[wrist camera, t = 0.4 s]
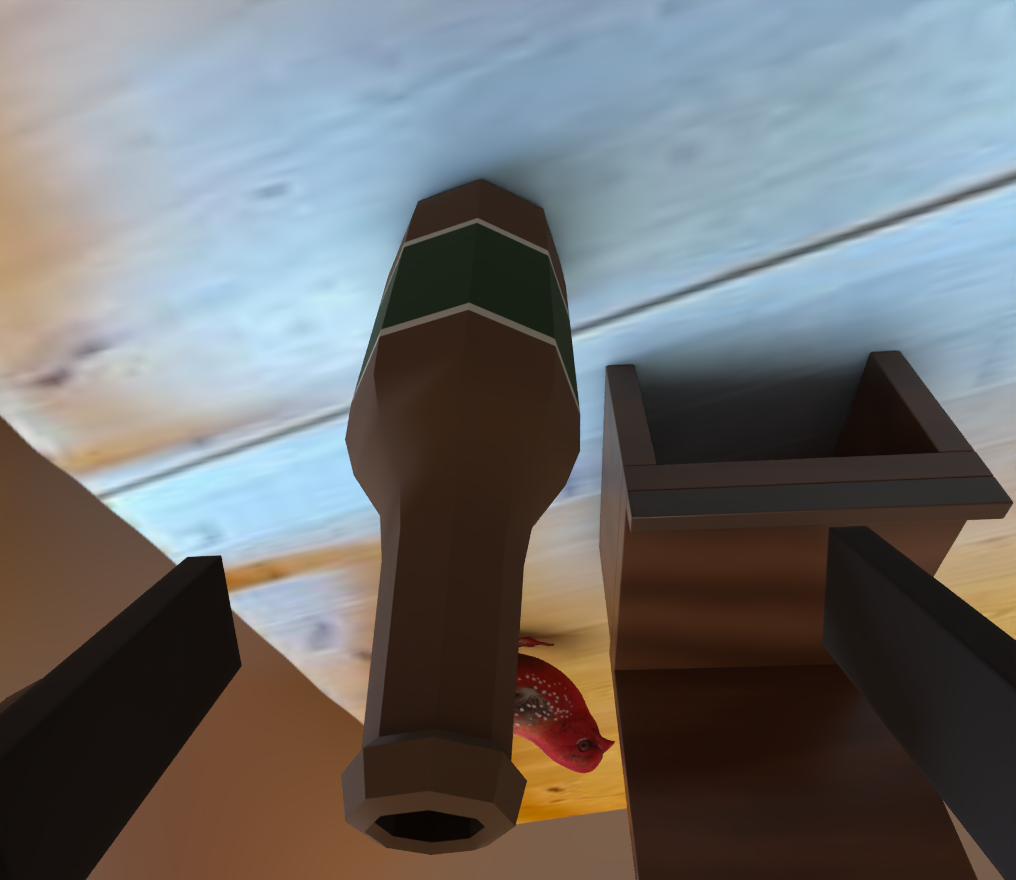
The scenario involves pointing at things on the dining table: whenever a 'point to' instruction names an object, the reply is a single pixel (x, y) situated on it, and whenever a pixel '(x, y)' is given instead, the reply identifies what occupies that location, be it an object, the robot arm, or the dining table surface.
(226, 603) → the robot arm
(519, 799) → the beer bottle
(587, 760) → the decorative bird figurine
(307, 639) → the dining table surface
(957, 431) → the shelf stand
